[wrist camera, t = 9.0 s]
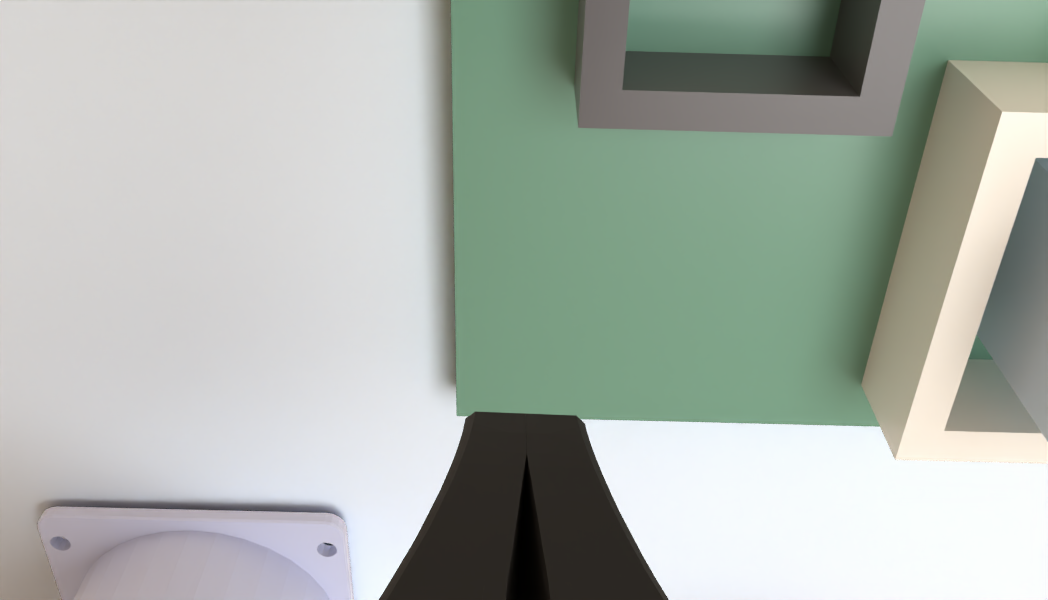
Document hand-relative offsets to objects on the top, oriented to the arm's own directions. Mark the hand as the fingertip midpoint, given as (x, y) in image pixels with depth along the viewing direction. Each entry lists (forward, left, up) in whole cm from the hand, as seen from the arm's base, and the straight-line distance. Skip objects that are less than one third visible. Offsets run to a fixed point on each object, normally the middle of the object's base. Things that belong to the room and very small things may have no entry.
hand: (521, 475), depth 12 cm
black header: (+4, -4, -9) cm, 10 cm away
